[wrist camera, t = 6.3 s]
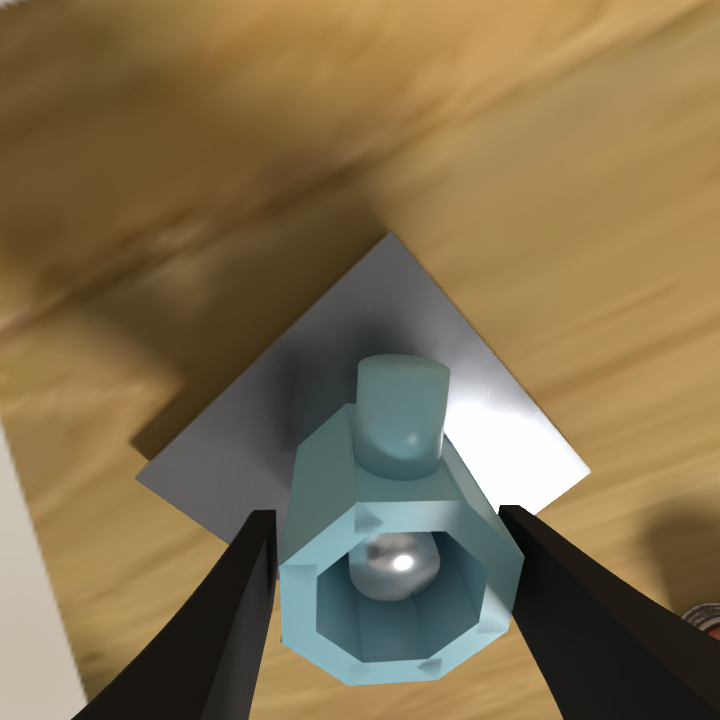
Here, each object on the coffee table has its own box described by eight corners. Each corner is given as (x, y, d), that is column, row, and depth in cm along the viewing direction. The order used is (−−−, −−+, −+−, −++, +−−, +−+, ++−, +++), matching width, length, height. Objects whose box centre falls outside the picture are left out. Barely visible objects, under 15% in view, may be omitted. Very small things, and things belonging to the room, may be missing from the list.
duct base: (363, 617, 17) (377, 766, 12) (148, 461, 13) (47, 580, 9) (574, 457, 15) (690, 555, 10) (386, 232, 12) (425, 220, 7)
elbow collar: (441, 533, 14) (498, 676, 9) (298, 537, 14) (282, 691, 9) (468, 337, 12) (561, 397, 7) (296, 333, 11) (272, 395, 7)
